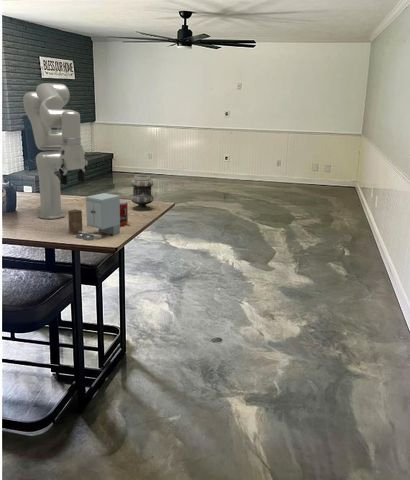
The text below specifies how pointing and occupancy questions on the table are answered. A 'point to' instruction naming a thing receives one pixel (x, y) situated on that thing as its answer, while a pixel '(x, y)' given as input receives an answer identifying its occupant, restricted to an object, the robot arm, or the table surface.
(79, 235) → the disc
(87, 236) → the disc
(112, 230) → the cabinet
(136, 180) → the apothecary jar
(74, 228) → the brown wooden block
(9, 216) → the table surface
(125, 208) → the canned food
